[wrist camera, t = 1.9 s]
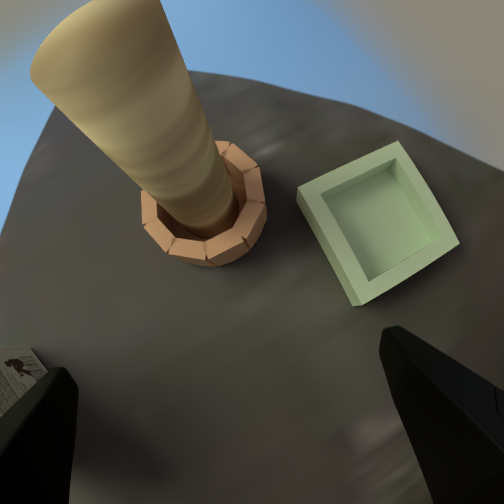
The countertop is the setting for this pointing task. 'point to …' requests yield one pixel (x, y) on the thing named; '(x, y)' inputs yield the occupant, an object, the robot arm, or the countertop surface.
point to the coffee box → (17, 375)
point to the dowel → (139, 107)
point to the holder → (227, 243)
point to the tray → (376, 222)
